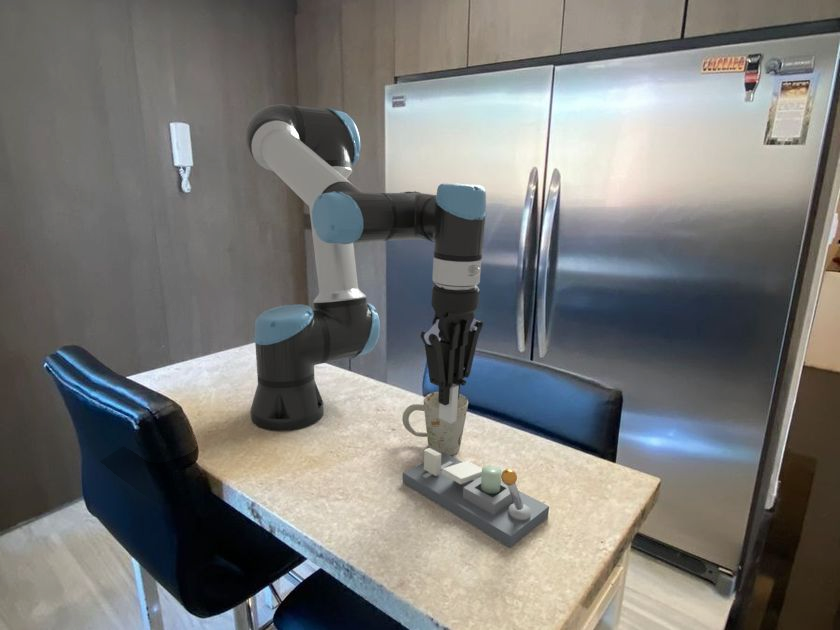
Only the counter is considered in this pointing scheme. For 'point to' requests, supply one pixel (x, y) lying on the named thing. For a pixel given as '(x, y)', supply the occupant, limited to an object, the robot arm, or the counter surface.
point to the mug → (439, 424)
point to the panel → (479, 503)
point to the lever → (512, 487)
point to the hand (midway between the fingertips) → (447, 419)
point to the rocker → (462, 472)
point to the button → (491, 479)
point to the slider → (432, 461)
